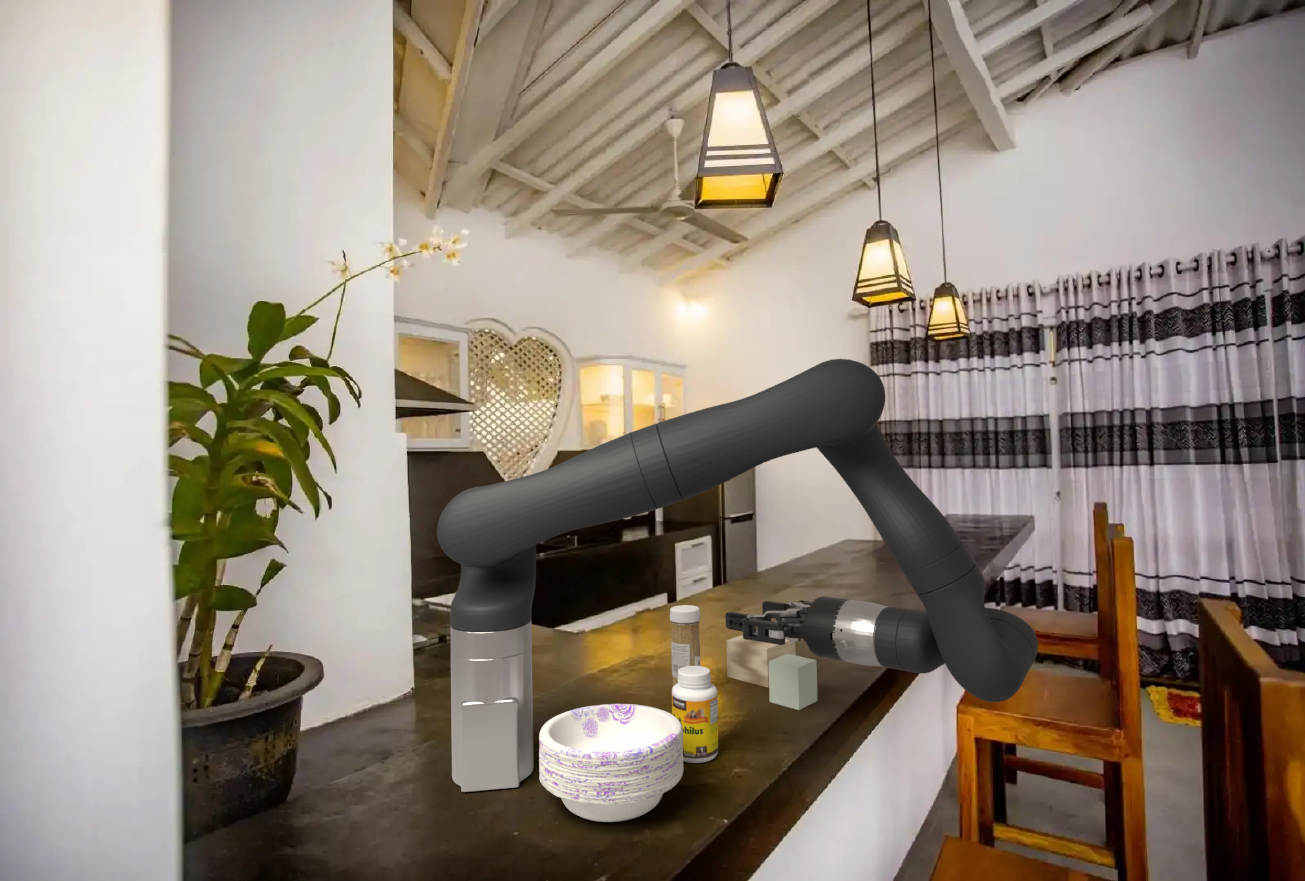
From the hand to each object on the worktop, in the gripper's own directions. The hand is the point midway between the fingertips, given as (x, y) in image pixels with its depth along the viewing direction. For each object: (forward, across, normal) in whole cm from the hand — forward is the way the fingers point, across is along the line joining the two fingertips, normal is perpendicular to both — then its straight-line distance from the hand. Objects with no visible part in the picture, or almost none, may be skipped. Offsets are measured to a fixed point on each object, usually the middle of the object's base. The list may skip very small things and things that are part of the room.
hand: (745, 613), depth 96 cm
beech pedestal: (+9, -15, +14) cm, 22 cm away
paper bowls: (-3, +29, +14) cm, 32 cm away
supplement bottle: (-3, +15, +14) cm, 21 cm away
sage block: (-2, -9, +14) cm, 17 cm away
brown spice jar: (+12, 0, +14) cm, 18 cm away
